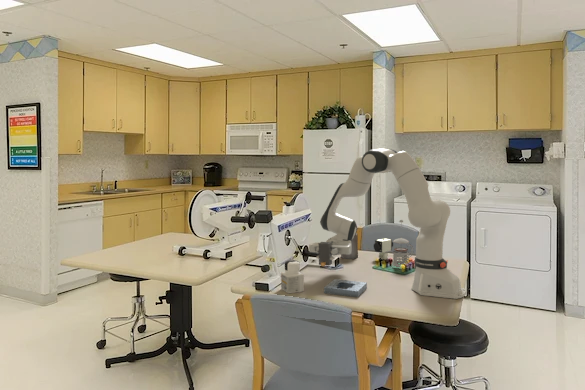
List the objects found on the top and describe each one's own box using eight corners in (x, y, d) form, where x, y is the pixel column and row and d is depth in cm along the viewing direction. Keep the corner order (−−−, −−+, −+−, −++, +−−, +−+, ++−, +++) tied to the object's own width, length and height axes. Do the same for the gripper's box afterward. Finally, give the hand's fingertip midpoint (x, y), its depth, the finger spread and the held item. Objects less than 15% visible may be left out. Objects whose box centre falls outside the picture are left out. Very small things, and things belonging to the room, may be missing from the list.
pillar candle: (350, 254, 271) (350, 229, 270) (361, 257, 263) (361, 231, 262) (337, 256, 266) (337, 231, 265) (348, 260, 258) (347, 233, 257)
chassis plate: (334, 284, 211) (334, 279, 210) (366, 288, 205) (366, 282, 204) (324, 293, 198) (324, 287, 198) (358, 297, 192) (358, 291, 192)
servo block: (318, 262, 216) (318, 241, 216) (335, 263, 213) (334, 242, 212) (314, 265, 211) (313, 243, 210) (330, 266, 208) (330, 244, 207)
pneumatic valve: (393, 258, 261) (393, 237, 260) (379, 261, 254) (379, 239, 253) (385, 256, 265) (386, 235, 264) (371, 259, 258) (372, 238, 257)
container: (281, 289, 205) (280, 260, 203) (297, 286, 208) (296, 258, 206) (287, 293, 198) (287, 264, 196) (304, 291, 201) (303, 262, 199)
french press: (387, 265, 244) (388, 218, 242) (407, 264, 247) (408, 217, 245) (396, 270, 235) (397, 221, 232) (417, 268, 237) (417, 220, 235)
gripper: (314, 238, 228) (303, 243, 216) (354, 240, 220) (345, 246, 207) (314, 251, 229) (303, 257, 216) (354, 253, 220) (345, 260, 208)
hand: (324, 251), depth 212 cm, fingers closed on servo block, 5 cm apart
